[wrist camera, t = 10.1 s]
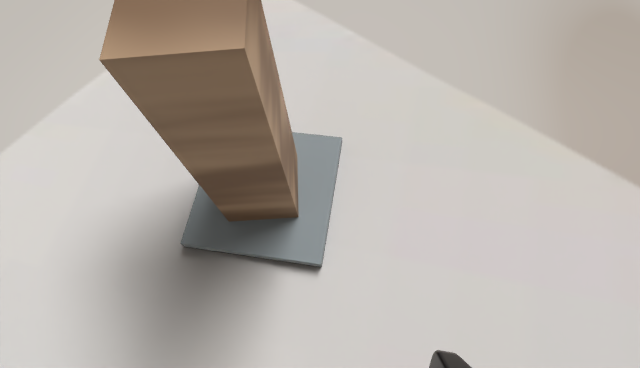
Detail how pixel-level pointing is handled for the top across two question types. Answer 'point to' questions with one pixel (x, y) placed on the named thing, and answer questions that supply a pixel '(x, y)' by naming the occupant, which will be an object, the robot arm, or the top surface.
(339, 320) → the top surface
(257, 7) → the walnut pillar
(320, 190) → the slate coaster
